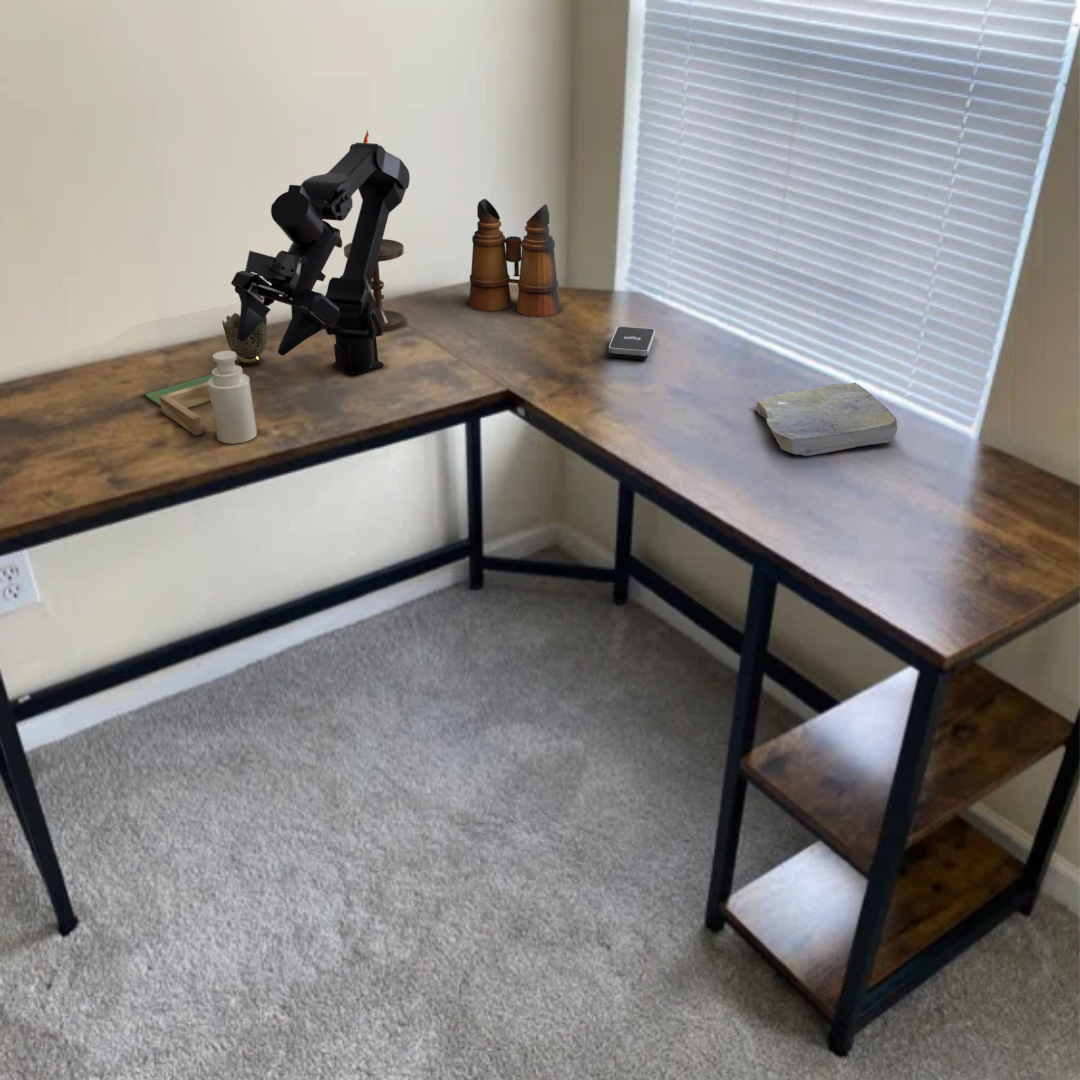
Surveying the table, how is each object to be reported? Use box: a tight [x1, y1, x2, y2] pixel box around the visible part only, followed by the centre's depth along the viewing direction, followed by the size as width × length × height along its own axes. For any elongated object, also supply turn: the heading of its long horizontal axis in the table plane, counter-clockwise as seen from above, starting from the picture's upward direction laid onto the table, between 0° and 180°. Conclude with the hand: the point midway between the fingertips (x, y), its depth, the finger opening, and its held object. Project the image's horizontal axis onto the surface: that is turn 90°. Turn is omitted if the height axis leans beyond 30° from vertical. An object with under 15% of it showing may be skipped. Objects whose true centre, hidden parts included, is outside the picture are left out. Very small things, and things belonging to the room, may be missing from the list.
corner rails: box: [159, 382, 211, 436], centre depth 177 cm, size 13×11×3 cm
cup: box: [221, 312, 268, 367], centre depth 193 cm, size 8×7×8 cm
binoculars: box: [468, 198, 561, 317], centre depth 215 cm, size 18×8×20 cm, turn 72°
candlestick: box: [343, 129, 405, 332], centre depth 203 cm, size 11×11×35 cm
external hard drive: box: [608, 325, 656, 361], centre depth 200 cm, size 7×11×2 cm, turn 168°
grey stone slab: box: [754, 382, 898, 457], centre depth 172 cm, size 20×5×17 cm
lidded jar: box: [208, 350, 258, 445], centre depth 167 cm, size 6×6×13 cm
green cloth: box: [144, 374, 212, 408], centre depth 185 cm, size 12×6×1 cm, turn 132°
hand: (259, 347), depth 169 cm, fingers open, 9 cm apart
